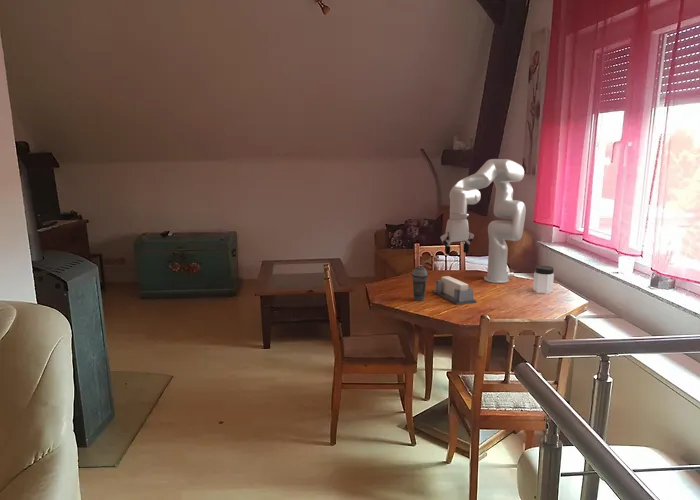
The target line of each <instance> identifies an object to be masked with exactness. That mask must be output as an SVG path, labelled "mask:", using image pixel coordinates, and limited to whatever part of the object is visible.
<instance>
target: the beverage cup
mask: <svg viewBox="0 0 700 500" xmlns="http://www.w3.org/2000/svg"><path fill="white" fill-rule="evenodd" d="M417 258H418V261H417V262H418V265H417V266H416V267H415V268H413V270H412V272H411V280H412V288H413V289H412V290H413V300H414V301H416V302H424V301H425V296H426V289H427V288H426V287H427V280H428V271H427V269H426V268H425V267H424V266H421V264H420V256H418V257H417Z"/></svg>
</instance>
